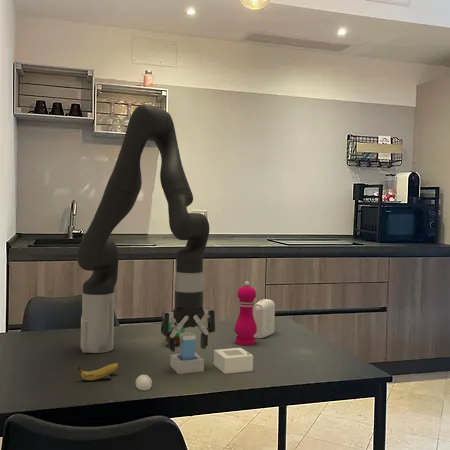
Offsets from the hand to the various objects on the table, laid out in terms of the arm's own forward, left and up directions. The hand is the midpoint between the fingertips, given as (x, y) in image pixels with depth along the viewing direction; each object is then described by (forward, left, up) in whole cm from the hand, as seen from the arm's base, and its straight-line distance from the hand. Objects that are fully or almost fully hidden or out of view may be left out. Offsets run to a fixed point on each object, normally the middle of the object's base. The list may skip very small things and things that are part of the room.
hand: (187, 349), depth 140 cm
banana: (-23, +1, -6) cm, 24 cm away
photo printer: (+37, +29, -6) cm, 47 cm away
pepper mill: (+27, +22, -6) cm, 35 cm away
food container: (+6, +28, -6) cm, 29 cm away
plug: (0, 0, -5) cm, 5 cm away
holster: (0, 0, -6) cm, 6 cm away
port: (+12, -3, -6) cm, 14 cm away
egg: (-14, -10, -6) cm, 18 cm away
